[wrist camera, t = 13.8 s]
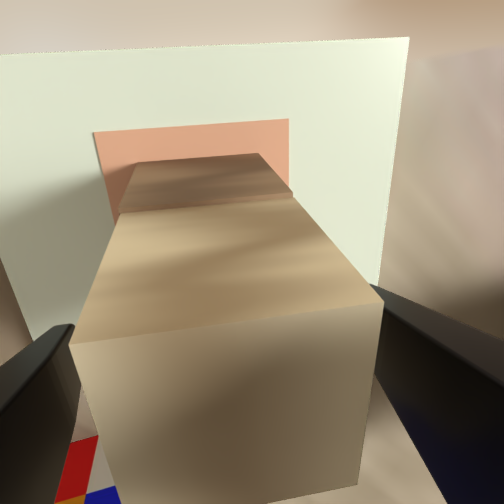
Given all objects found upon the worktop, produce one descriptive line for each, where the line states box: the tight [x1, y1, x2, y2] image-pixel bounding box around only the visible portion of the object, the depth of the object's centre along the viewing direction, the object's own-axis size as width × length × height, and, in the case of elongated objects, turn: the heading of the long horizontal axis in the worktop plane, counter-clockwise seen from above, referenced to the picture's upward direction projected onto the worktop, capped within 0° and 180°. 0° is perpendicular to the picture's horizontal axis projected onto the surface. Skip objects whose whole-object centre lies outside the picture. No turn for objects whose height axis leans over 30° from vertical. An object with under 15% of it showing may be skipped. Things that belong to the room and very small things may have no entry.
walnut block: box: [118, 153, 293, 216], centre depth 13 cm, size 4×4×5 cm
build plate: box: [0, 37, 409, 341], centre depth 16 cm, size 16×12×1 cm
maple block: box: [69, 197, 384, 504], centre depth 9 cm, size 4×4×5 cm
